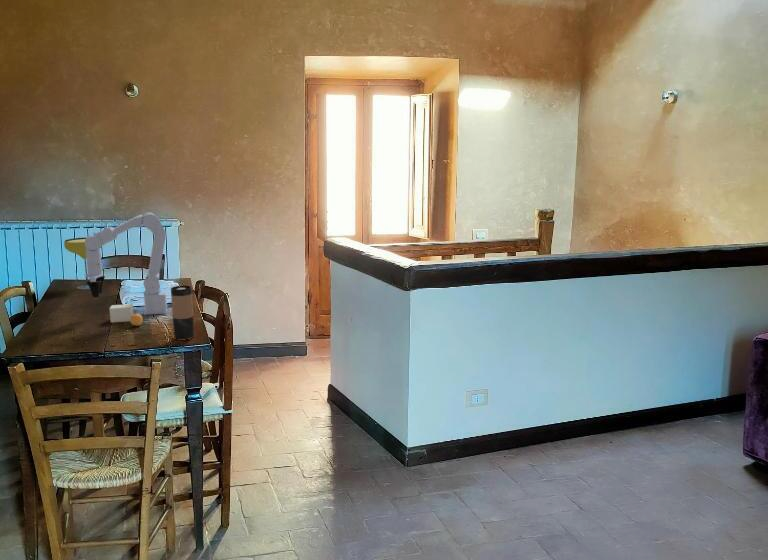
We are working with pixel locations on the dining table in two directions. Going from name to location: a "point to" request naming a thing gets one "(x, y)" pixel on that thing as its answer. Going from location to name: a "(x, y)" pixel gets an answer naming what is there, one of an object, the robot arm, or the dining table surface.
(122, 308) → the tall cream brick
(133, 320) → the ball
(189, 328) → the travel mug
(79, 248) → the cocktail glass
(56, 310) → the dining table surface
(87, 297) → the dining table surface
